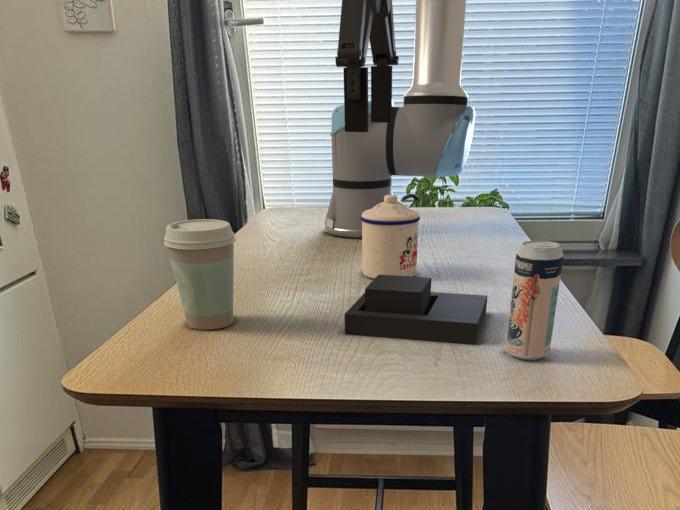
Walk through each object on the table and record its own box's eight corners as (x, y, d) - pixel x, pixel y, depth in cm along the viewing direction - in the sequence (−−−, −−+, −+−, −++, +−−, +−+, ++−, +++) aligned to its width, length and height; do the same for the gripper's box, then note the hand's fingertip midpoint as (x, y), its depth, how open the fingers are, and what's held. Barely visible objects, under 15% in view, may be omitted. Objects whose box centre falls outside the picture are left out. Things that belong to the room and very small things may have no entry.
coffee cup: (186, 312, 90) (172, 218, 84) (249, 312, 90) (240, 218, 83) (168, 333, 82) (152, 232, 76) (237, 334, 82) (226, 231, 76)
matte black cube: (378, 312, 89) (378, 274, 87) (429, 316, 88) (431, 277, 85) (364, 328, 84) (364, 288, 81) (420, 333, 82) (421, 292, 79)
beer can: (500, 348, 77) (512, 240, 71) (540, 346, 78) (555, 238, 71) (512, 363, 73) (525, 250, 67) (554, 361, 74) (571, 248, 67)
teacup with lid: (410, 283, 102) (413, 201, 96) (353, 279, 104) (352, 198, 98) (427, 264, 112) (430, 189, 106) (374, 261, 114) (374, 187, 108)
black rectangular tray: (368, 305, 92) (368, 287, 91) (485, 314, 88) (487, 295, 87) (344, 333, 82) (344, 313, 81) (475, 344, 78) (477, 323, 77)
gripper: (362, -71, 85) (364, 118, 96) (300, -111, 64) (312, 136, 76) (421, -75, 83) (415, 119, 94) (376, -117, 63) (376, 136, 74)
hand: (369, 127), depth 85 cm, fingers open, 13 cm apart
